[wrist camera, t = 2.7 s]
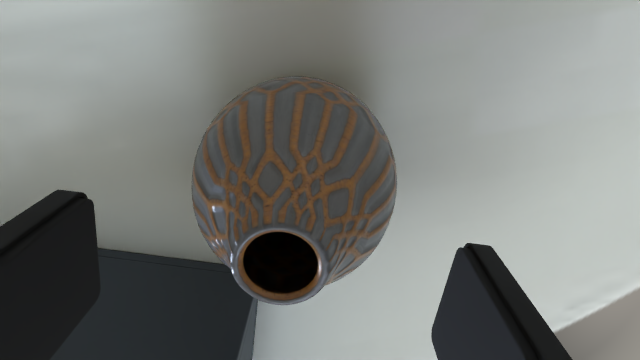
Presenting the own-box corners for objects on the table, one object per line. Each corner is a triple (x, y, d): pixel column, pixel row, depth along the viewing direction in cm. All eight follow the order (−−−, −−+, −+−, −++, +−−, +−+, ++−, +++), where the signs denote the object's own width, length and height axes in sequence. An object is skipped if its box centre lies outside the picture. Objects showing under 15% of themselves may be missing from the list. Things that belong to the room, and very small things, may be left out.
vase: (369, 47, 16) (410, 94, 8) (392, 201, 18) (440, 354, 10) (202, 82, 16) (81, 158, 8) (248, 226, 19) (189, 386, 11)
